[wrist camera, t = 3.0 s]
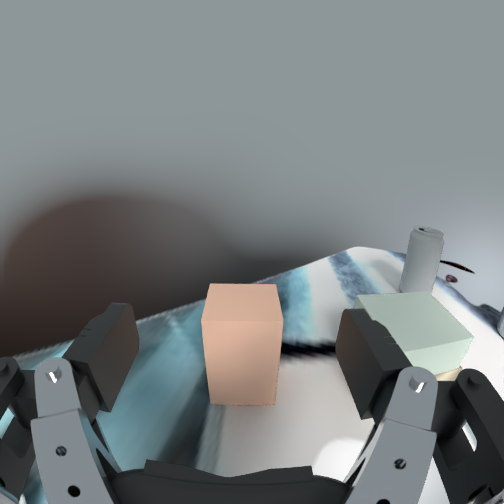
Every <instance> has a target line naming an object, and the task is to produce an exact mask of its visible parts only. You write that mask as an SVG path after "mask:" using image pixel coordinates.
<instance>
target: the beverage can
mask: <svg viewBox="0 0 504 504" xmlns="http://www.w3.org/2000/svg"><path fill="white" fill-rule="evenodd" d="M443 245H444V240H443V233H442V232H441V231H439V230H436V229H433V228H430V227H425V226H414V230H413V231H412V232H411V234H410V239H409V244H408V250H407V255H406V259H405V264H404V269H403V273H402V277H401V282H400V286H399V288H400V290H401V292H402V293H408V292H423V291H428V292H429V293H430V294H431V292H432V289H433V285H434V282H435V278H436V274H437V270H438V266H439V262H440V258H441V254H442V249H443Z"/></svg>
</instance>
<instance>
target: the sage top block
mask: <svg viewBox="0 0 504 504" xmlns="http://www.w3.org/2000/svg"><path fill="white" fill-rule="evenodd" d="M359 308H364V309H365V310H366V312H367V313H368V314H369V316H370V317H371V319H372V320H376V321H378V322H379V323H381V324H382V325H384V326H385V327H386V328H387V329H388V331H389V332H390V334H391V335H392V337H393V338H394V339H395V341H396V344H398V345H399V346H400V348H401V349H402V351H403V352H404V354H405V355H406V357H407V358H408V359H409V361H410V362H411V364H412V365H413V366H416V367H422V368H425V369H427V370H428V371H430V372H431V373H432V374H433V375H436V374H440V373H443V372H447V371H450V370H453V369H456V368H459V366H460V364H461V363H462V361H463V359H464V357H465V355H466V353H467V351H468V348H469V346H470V344H471V342H472V340H473V338H474V336H473V335H472V334H471V333H470V332H469V331H468V330H467V329H466V328H465V327H464V326H463V325H462V324H461V323H460V322H459V321H458V320H457V319H456V318H455V317H454V316H453V315H452V314H451V313H450V312H449V311H448V310H447V309H446V308H445V307H444V306H442V305H441V304H440V303H439V302H438V301H437V300H436V299H435V298H434V297H433V296H432V295H431V294H430V293H429V292H428V291H423V292H408V293H391V294H370V295H356V300H355V305H354V309H359Z"/></svg>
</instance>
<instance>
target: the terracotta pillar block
mask: <svg viewBox="0 0 504 504" xmlns="http://www.w3.org/2000/svg"><path fill="white" fill-rule="evenodd" d="M201 325H202V335H203V345H204V354H205V363H206V371H207V379H208V387H209V395H210V402H211V404H215V405H275V396H276V388H277V379H278V370H279V361H280V351H281V341H282V331H283V316H282V312H281V307H280V302H279V297H278V293H277V288H276V284H210V287H209V291H208V295H207V298H206V302H205V306H204V310H203V314H202V318H201Z"/></svg>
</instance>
